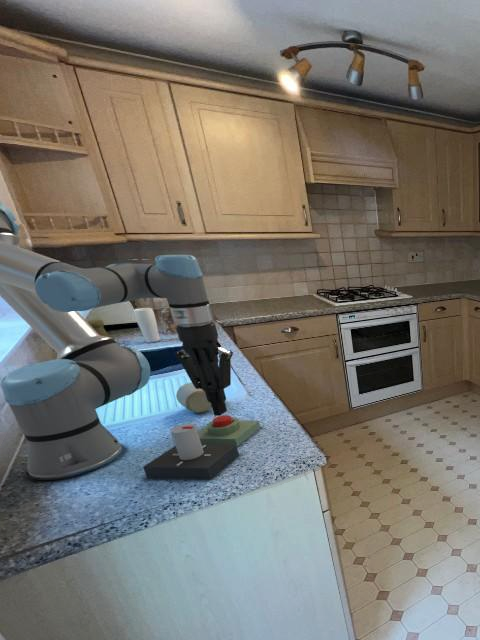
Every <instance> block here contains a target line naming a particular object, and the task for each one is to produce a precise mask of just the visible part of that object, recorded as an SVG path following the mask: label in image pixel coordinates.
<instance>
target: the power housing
mask: <svg viewBox="0 0 480 640" xmlns="http://www.w3.org/2000/svg"><path fill="white" fill-rule="evenodd" d="M231 418H232V424H230V425H227V426H224V427H214V424H213V420H212V421H210V422H209V423H208V424H206V425H205V426H204V427H202V428H201V429H199V430H197V432H198V435H199V439H200V442H201V444H222V445H237V447H239V446H240V445H241V444H242V443H244V442H245V441H246V440H247V439H249V438H250V437H251V436H252V435H254V434H255V433H256V432H257V431H259V430H260V429H261V424H260V421H259V420H240V419H239V418H238V417H236V416H231Z"/></svg>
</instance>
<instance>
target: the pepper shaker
mask: <svg viewBox="0 0 480 640" xmlns="http://www.w3.org/2000/svg"><path fill="white" fill-rule="evenodd" d="M86 321H87V322H88V323H89V324H90V325H91V327H92V328H93V329H94V330H95V331H96V332H97V333H98V334H99V335H101V336H105V337H110V336H109V334H108V333H107V331H106V329H105V328H104V325H105V323H104V321H103V320H102V319H99V318H96V319H95V318H94V319H90V320H86Z"/></svg>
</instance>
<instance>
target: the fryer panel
mask: <svg viewBox="0 0 480 640" xmlns="http://www.w3.org/2000/svg"><path fill="white" fill-rule="evenodd" d="M201 445H202V448H203V451H204V453H203V454H202V455H201V456H199V457H197V458H194V459H191V460H181V459H180V457H179V454H178V451H177V448H176V446H175V445H174V446H172V447H171V448H170V449H168V450H167V451H165V452H164V453H162V454H161V455H159V456H157V457H156V458H154V459H153V460H152V461H150V462H148V463H147V464H145V465H144V466H143V468H142V469H143V471H144V473H145V476H146V479H160V480H161V479H164V480H165V479H167V480H168V479H169V480H212V479H213V478H214V477H215V476H216V475H218V474H219V473H220V472H221V471H222V470H224V469H225V468H227V466H228V465H229V464H231V463H232V462H233V461H234V460H235V459H237V458H238V457H239V456H240V453H239V450H238V446H237V445H222V444H201Z"/></svg>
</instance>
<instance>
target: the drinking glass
mask: <svg viewBox="0 0 480 640" xmlns="http://www.w3.org/2000/svg"><path fill="white" fill-rule="evenodd" d="M132 313H133V315H134V318H135V321H136V323H137V326H138V327H139V329H140V332H141V334H142V336H143V338H144V339H143V340H144V342H145V343H147V344H148V343H149V344H152V343H158V342H160V341H161V337H160V333H159V329H158V323H157V318H156V314H155V312H154V310H153V307H140V308H139V307H138V308H135V309H133V312H132Z"/></svg>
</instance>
